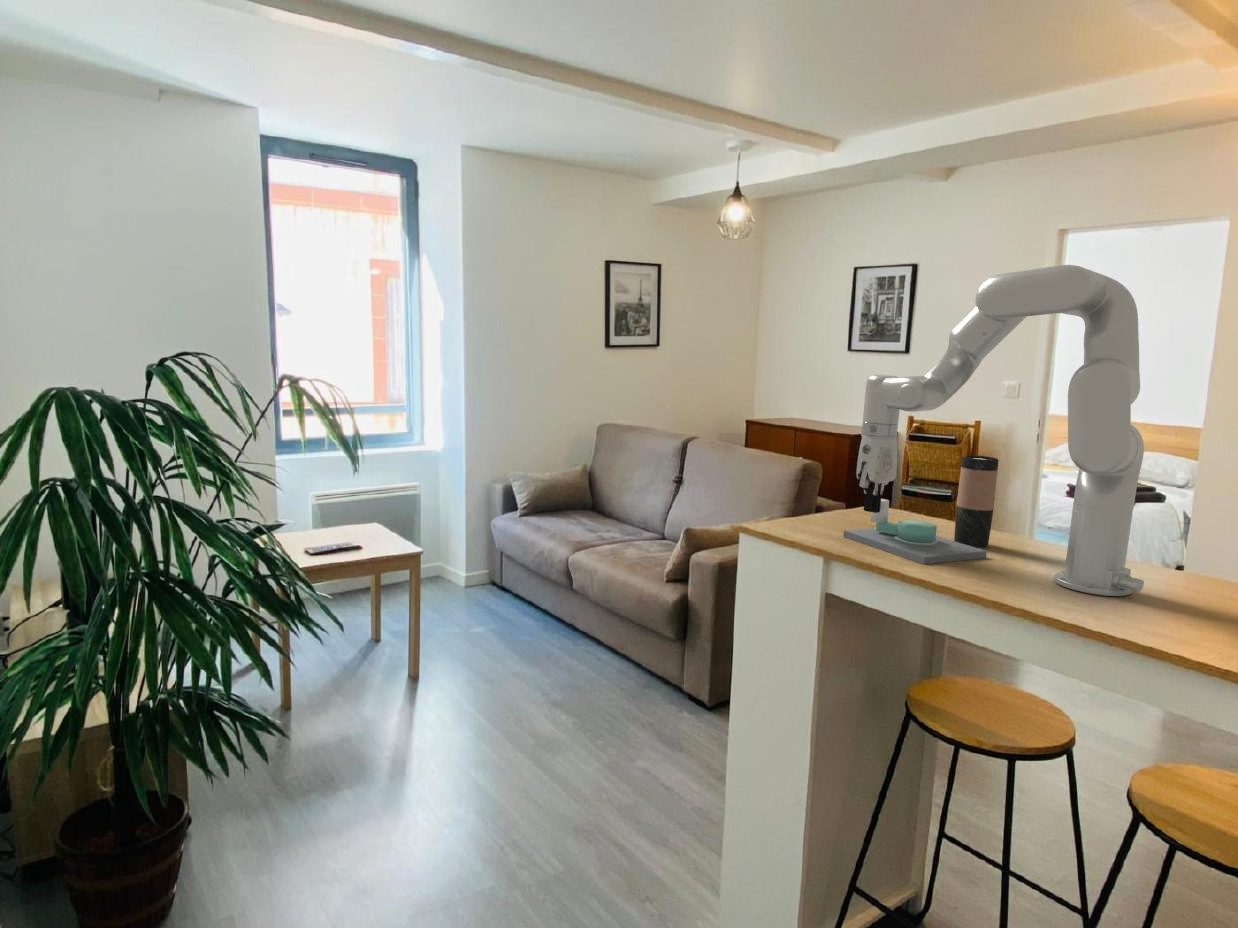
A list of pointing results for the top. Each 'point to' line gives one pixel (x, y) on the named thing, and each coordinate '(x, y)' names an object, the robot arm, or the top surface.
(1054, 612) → the top surface
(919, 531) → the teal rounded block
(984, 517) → the travel mug
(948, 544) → the base plate
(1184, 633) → the top surface
